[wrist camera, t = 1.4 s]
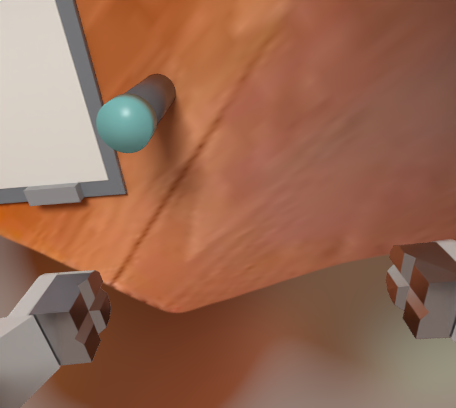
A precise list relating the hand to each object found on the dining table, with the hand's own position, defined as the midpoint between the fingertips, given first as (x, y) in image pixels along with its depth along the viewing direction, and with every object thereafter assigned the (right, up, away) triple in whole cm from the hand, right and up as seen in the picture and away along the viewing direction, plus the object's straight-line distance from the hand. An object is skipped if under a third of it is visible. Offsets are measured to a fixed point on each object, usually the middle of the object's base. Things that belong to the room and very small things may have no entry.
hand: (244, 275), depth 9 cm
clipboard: (-21, +12, +25) cm, 35 cm away
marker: (-7, +14, +24) cm, 29 cm away
